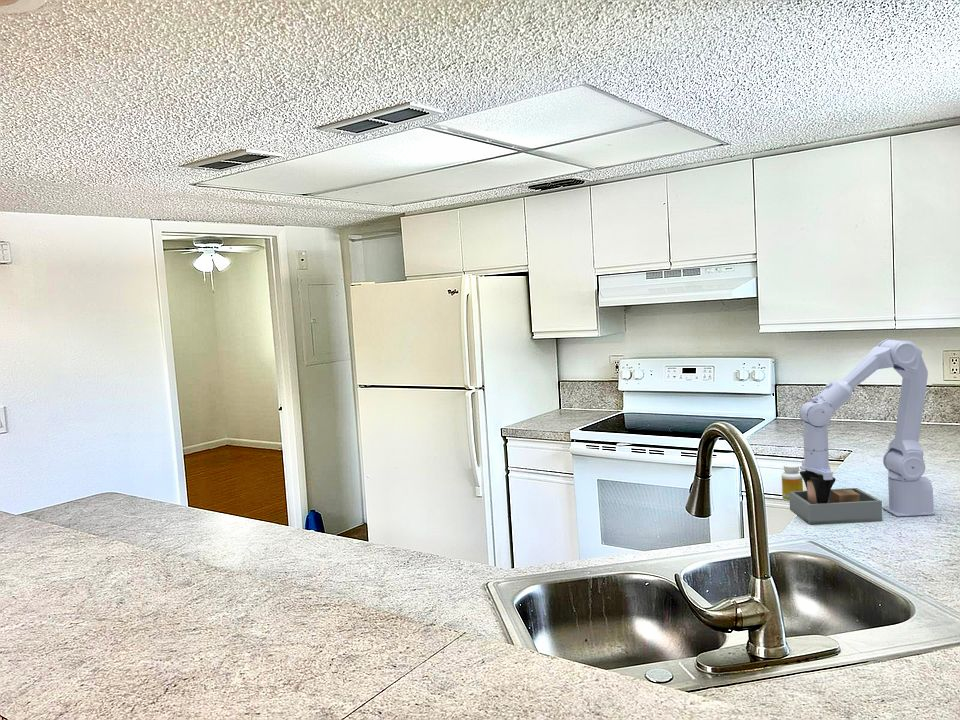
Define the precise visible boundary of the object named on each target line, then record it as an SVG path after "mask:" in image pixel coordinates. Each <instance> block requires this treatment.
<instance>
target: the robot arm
mask: <svg viewBox="0 0 960 720" xmlns="http://www.w3.org/2000/svg"><path fill="white" fill-rule="evenodd" d="M922 354H923V351H922V349H920V347H919V346H917V345H916V344H915V343H914V342H912V341H910V340H897V339H892V338H888V339H884V340H882V341H880V342H879V343H878V344H877V345H875V346H874V347H872V349H871V350H870V351H869V353H868V354H867V355H866V356H865V357H864V358H863V359H862V360H861V361H860V362H859V363H857V365H855V367H854V368H853V369H851V371H849V373H848V374H847V375H845V376H844V378H843V379H842V380H833V381H832V382H829V381H828V382H827V383H826V384H825V388H824V389H823V390H822V391H821V392H820V393H819V394H818V395H817V396H813V397H812V398H811V400H812V401H807V402H806V403H804V404H803V405H802V406H801V408H800V410H799V412H798V417H799V418H800V420H801V422H802V426H803V429H802V431H803V432H802V433H803V434H802V435H803V456H804V457H803V458H804V459H802V461H801V463H802V464H801V465H799V473H800V475H801V476H802V480H803V482H804V485H805V487H806V488H805V489H807V481H808V480H811V481H812V483H813V485H814V488H815V493H816V499H817V503H818V504H823V503H827V502H828V498H829V494H830V490H831V489H833V488H832V487H833V485H834V484H835V482H836V478H835V477H834V475H833V471H831V466H830V459H829V458H830V457H829V455H830V454H829V437H828V436H829V434H828V424H829V423H830V422H831V420H832V416H833V414H834V413H835V412H836V411H838V410H839V409H840V408H841V407H842V406H844V405H845V404H846V403H847V402H848V401H849V400H850V399H851V398H853V390H854V389H855V388H857V386H858V387H859V385H861V383H863V382H864V381H865V380H867V378H870V376H871V375H872V374H874V373H875V372H877V371H878V370H883V369H888V368H889V369H890V368H892V369H894V371H896V372H897V373H898V374H899V375H900V376H901V378H902V380H901V388H900V395H899V396H900V397H899V403H898V410H897V417H896V424H895V431H894V438H893V439H892V440H891V441H890V442H889V444H888V448H887V451H886V452H885V453H884V455H883V458H882V463H883V466H884V467H885V469H886V470H887V471H888V474H887V483H888V484H887V485H888V505H886V506H883V505H882V510H885V511H886V512H888V513H890V514H892V515H894V516H895V517H911V516H912V517H913V516H928V515H929V516H930V515H936V512H935V511H934V490H933V489H934V488H933V485H932V482H931V480H930V479H929V478H928V477H926V476H924V474H925V472H926V462H925V460H924V450H923V448H922V446H921V443H920V442H919V441H920V434H921V428H922V420H923V419H922V418H923V412H924V406H925V405H924V404H925V398H926V391H927V382H928V375H929V373H928V372H929V371H928V369H927V366H926V363H925V361H924V359H923V356H922ZM800 470H801V471H800Z"/></svg>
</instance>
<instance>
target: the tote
mask: <svg viewBox="0 0 960 720" xmlns="http://www.w3.org/2000/svg"><path fill="white" fill-rule="evenodd" d="M834 490H853V491H855V492H856V493H858V494H860V501H859V502H841V503H832V493H831V491H834ZM789 499H790V502H789V511H790V512H792V513H793V514H795V515H796V516H797V517H799V518H800V519H801V520H802V521H804V522H806V523H807V524H808V525H810V526H812V525H813V526H815V525H816V526H817V525H831V524H852V523H853V524H854V523H870V522H872V523H873V522H883V508H882V507H883V502H882V500H880V499H878V498H877V497H875V496H873V495H871V494H869V493H867V492H865V491H864V490H861V489H860V488H858V487H848V488H847V487H846V488H831V490H830V494H829V503H823V504H810V503H809V502H808V495H807V490H803V491H791V492H789Z"/></svg>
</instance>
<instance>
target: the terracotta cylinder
mask: <svg viewBox="0 0 960 720" xmlns="http://www.w3.org/2000/svg"><path fill="white" fill-rule="evenodd" d="M806 491H807V495H808V502H809V503H810V504H818V503H817V499H816V493H815V488H814V485H813V483H812V481H811V480H808V481H807V488H806ZM827 503H829V498H828V502H827Z"/></svg>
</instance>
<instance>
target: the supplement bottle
mask: <svg viewBox="0 0 960 720" xmlns="http://www.w3.org/2000/svg"><path fill="white" fill-rule="evenodd" d="M783 471H784V472H782V473H781V497H782V500H783V501H784V502H788V503H790V499H789V492H791V491H804V485H803V484H804V483H803V482H804V480H803V478H802V476H801V475H800V465H799V464H795V463H788V464H784V465H783Z"/></svg>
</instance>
